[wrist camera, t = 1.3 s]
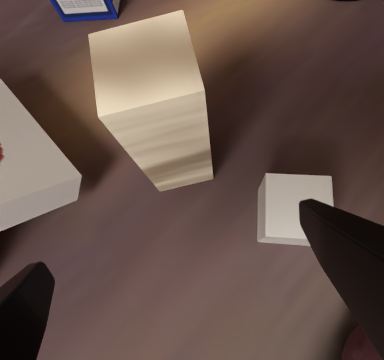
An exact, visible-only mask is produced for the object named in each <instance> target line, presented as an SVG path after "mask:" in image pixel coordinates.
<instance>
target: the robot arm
mask: <svg viewBox="0 0 384 360" xmlns="http://www.w3.org/2000/svg"><path fill="white" fill-rule="evenodd" d="M299 220H300V225H301V228H302V230H303V232H304V234H305V236H306V238H307V240H308V242H309V244H310V246H311V248H312V250H313V251H314V253H315V255H316V257H317V259H318V261H319V263H320V265H321V267H322V268H323V270H324V272H325V273H326V275H327V276H328V278H329V279H330V281H331V282H332V284H333V285H334V287H335V288H336V290H337V291H338V293H339V294H340V296H341V297H342V299H343V300H344V302H345V304H346V305H347V307H348V308H349V310H350V311H351V313H352V314H353V316H354V317H355V319H356V320H357V322H358V323H359V325H360V326H361V328H362V329H363V331H364V332H365V334H366V335H367V337H368V338H369V340H370V342H371V343H372V345H373V346H374V348H375V349H376V351H377V352H378V354H379V355H380V357H381V358H382V360H384V226H382V225H380V224H377V223H374V222H372V221H369V220H367V219H364V218H361V217H359V216H356V215H354V214H351V213H349V212H346V211H343V210H341V209H338V208H336V207H333V206H330V205H328V204H325V203H323V202H320V201H318V200H315V199H312V198H310V199H306V200H302V201H300V202H299ZM54 285H55V280H54V277H53V275H52V274H51V272H50V271H49V269H48V268H47V266H46V265H45V263H43V262H41V261H39V262H35V263H31V264H29V265H27V266H26V267H25V268H24V269H22V270H21V271H20V272H19V273H17V274H16V275H15V276H14V277H12V278H11V279H10V280H9V281H7V282H6V283H5V284H4V285H2V286H1V287H0V360H36V359H37V356H38V353H39V349H40V346H41V343H42V339H43V336H44V333H45V329H46V325H47V320H48V316H49V310H50V305H51V300H52V295H53V290H54Z"/></svg>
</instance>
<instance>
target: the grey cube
mask: <svg viewBox="0 0 384 360" xmlns="http://www.w3.org/2000/svg"><path fill="white" fill-rule="evenodd" d="M310 198H312V199H315V200H318V201H320V202H323V203H325V204H328V205H330V206H333V191H332V177H331V176H317V175H295V174H273V173H266V174H265V176H264V178H263V180H262V182H261V184H260V187H259V189H258V233H257V242H266V243H279V244H292V245H305V246H310V244H309V242H308V240H307V238H306V236H305V234H304V232H303V230H302V228H301V225H300V220H299V202H300V201H302V200H306V199H310ZM333 207H334V206H333Z"/></svg>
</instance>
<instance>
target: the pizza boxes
mask: <svg viewBox="0 0 384 360" xmlns="http://www.w3.org/2000/svg"><path fill="white" fill-rule="evenodd" d="M81 178H82V175H81V174H80V173H79V172H78V171H77V169H76V168H75V167H74V166H73V165H72V163H71V162H70V161H69V160H68V159H67V157H66V156H65V155H64V154H63V153H62V151H61V150H60V149H59V148H58V147H57V146H56V144H55V143H54V142H53V141H52V140H51V138H50V137H49V136H48V135H47V134H46V132H45V131H44V130H43V129H42V128H41V126H40V125H39V124H38V123H37V122H36V120H35V119H34V118H33V117H32V116H31V114H30V113H29V112H28V111H27V110H26V109H25V107H24V106H23V105H22V104H21V103H20V101H19V100H18V99H17V98H16V97H15V95H14V94H13V93H12V92H11V91H10V89H9V88H8V87H7V86H6V85H5V83H4V82H3V81H2V80H1V79H0V231H3V230H5V229H8V228H10V227H12V226H15V225H17V224H20V223H22V222H25V221H27V220H30V219H32V218H35V217H37V216H39V215H42V214H44V213H47V212H49V211H52V210H54V209H57V208H59V207H62V206H64V205H66V204H69V203H71V202H74V201H76V200H77V199H78V194H79V188H80V183H81Z"/></svg>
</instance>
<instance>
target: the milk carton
mask: <svg viewBox="0 0 384 360" xmlns="http://www.w3.org/2000/svg"><path fill="white" fill-rule="evenodd" d="M50 1H51V3H52V4H53V6H54V7H55V9H56V11H57V12H58V14H59V15H60V17H61V18H62V20H63V21H64V22H71V21H88V20H104V19H118V15H119V8H120V2H121V0H50Z"/></svg>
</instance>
